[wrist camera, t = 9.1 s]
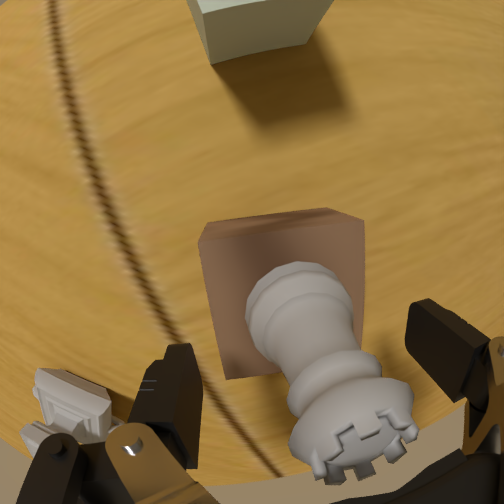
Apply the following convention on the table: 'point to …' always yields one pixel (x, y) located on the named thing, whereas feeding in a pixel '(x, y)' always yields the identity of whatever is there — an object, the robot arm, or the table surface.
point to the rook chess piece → (328, 374)
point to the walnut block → (265, 260)
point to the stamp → (69, 409)
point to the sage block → (254, 25)
